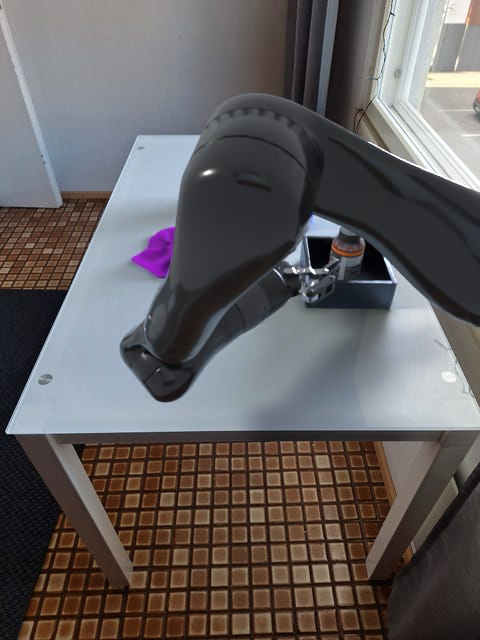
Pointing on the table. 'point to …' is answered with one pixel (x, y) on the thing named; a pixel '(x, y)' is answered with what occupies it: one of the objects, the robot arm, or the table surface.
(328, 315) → the table surface
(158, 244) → the cloth
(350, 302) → the dark open box
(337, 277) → the supplement bottle
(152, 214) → the table surface
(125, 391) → the table surface
